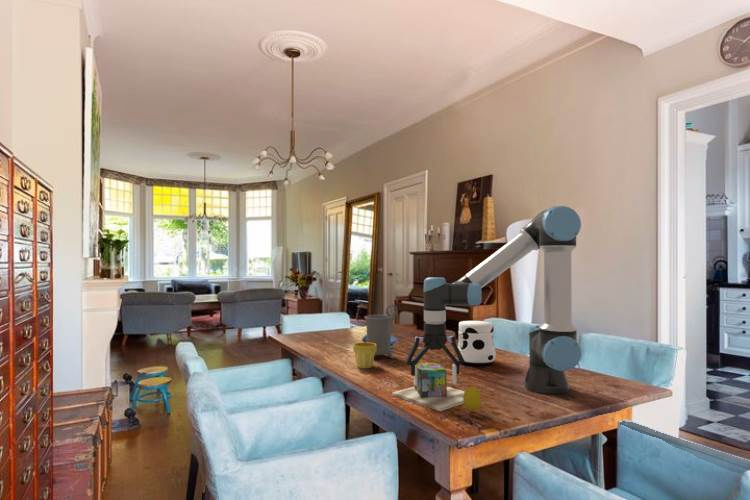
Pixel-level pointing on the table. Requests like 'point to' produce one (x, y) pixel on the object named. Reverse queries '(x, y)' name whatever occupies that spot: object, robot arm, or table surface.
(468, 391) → the lemon
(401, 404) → the table surface
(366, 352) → the plant pot
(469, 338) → the milk container
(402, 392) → the ash board
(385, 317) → the mug
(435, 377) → the chalk box
